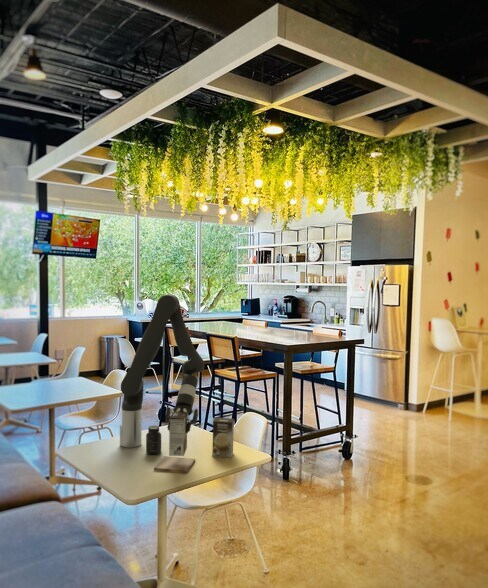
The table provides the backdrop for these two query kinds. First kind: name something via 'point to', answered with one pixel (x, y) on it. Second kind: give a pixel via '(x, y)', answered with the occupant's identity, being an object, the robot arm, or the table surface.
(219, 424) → the coffee box
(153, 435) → the supplement bottle
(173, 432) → the coffee box
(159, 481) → the table surface
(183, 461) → the brown tray
